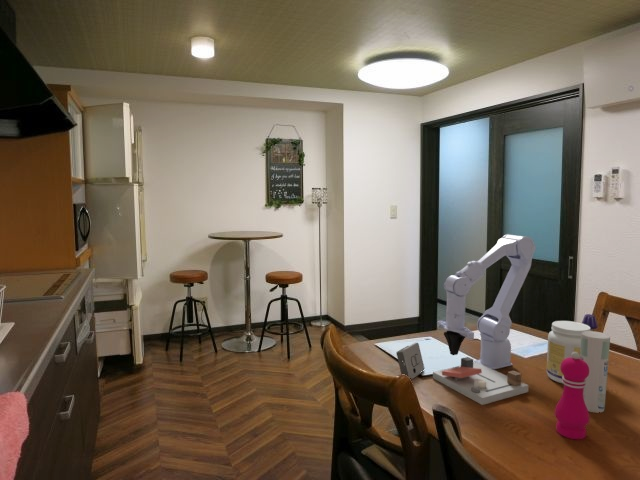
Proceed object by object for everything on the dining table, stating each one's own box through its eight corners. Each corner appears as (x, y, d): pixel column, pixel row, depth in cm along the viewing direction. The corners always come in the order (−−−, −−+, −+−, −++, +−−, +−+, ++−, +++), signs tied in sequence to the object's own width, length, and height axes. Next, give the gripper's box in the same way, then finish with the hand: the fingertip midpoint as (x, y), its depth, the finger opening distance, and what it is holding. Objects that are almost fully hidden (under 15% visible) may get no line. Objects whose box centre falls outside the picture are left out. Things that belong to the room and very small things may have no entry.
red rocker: (462, 370, 142) (461, 366, 142) (481, 373, 135) (481, 368, 135) (442, 375, 138) (441, 371, 138) (461, 378, 131) (460, 373, 131)
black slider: (467, 366, 146) (467, 356, 146) (473, 369, 144) (473, 359, 143) (460, 368, 145) (461, 358, 144) (466, 370, 143) (466, 360, 142)
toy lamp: (594, 367, 151) (597, 317, 149) (577, 364, 154) (581, 315, 152) (595, 363, 155) (599, 314, 153) (580, 360, 157) (583, 312, 156)
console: (475, 368, 150) (476, 351, 150) (528, 391, 133) (529, 373, 132) (432, 378, 142) (433, 360, 142) (482, 405, 124) (483, 384, 124)
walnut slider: (512, 381, 135) (513, 370, 135) (521, 384, 132) (521, 373, 132) (507, 382, 134) (507, 372, 134) (515, 386, 131) (515, 375, 131)
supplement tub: (588, 374, 145) (592, 322, 143) (593, 390, 134) (596, 333, 132) (545, 368, 150) (548, 317, 148) (546, 382, 139) (549, 328, 137)
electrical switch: (411, 380, 141) (409, 350, 140) (396, 377, 144) (394, 348, 143) (425, 371, 148) (423, 342, 147) (410, 368, 151) (408, 341, 151)
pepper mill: (547, 425, 114) (552, 347, 111) (575, 424, 114) (580, 346, 112) (565, 441, 106) (570, 358, 104) (595, 440, 107) (600, 357, 105)
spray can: (604, 415, 119) (610, 340, 117) (576, 409, 122) (580, 335, 120) (605, 405, 124) (610, 333, 122) (577, 399, 128) (582, 329, 126)
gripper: (430, 309, 152) (429, 349, 154) (462, 320, 139) (460, 363, 141) (447, 306, 155) (445, 345, 157) (479, 317, 142) (477, 360, 144)
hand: (454, 354), depth 149 cm, fingers closed
